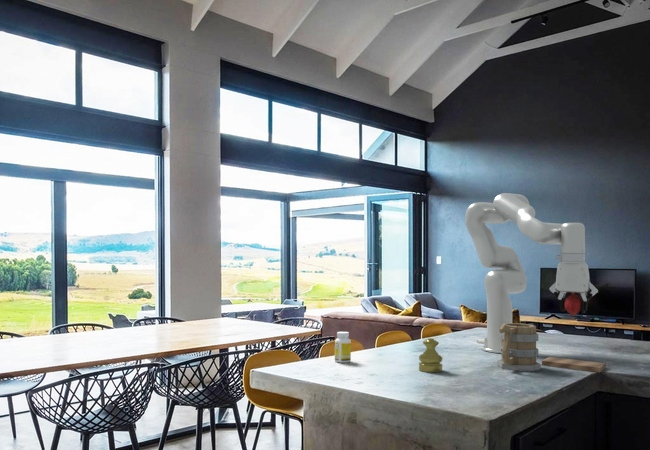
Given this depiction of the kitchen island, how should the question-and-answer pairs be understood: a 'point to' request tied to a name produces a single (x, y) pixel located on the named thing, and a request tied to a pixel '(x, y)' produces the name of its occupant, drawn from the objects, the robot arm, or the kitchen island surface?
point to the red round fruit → (572, 304)
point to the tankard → (518, 347)
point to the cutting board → (574, 364)
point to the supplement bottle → (342, 348)
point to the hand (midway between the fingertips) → (573, 311)
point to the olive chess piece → (430, 357)
